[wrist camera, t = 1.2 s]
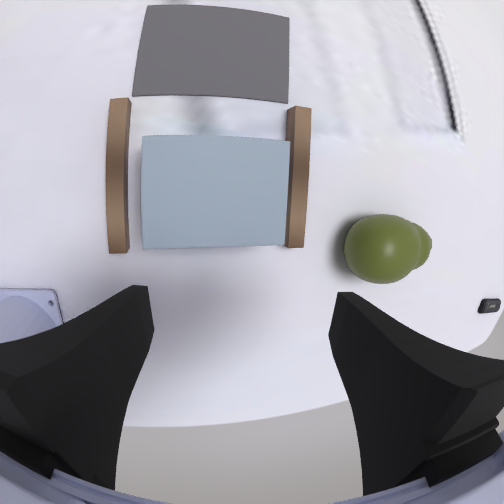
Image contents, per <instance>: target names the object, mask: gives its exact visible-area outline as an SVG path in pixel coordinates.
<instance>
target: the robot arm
mask: <svg viewBox="0 0 504 504" xmlns="http://www.w3.org/2000/svg"><path fill="white" fill-rule="evenodd" d="M50 300H51V301H53V303H54V304H52V303H51V302H50ZM153 333H154V325H153V319H152V313H151V306H150V300H149V293H148V286H139V285H132V286H130V287H128V288H126V289H124V290H122V291H121V292H119V293H117V294H116V295H114V296H112V297H111V298H109V299H107V300H106V301H104V302H102V303H101V304H99V305H97V306H96V307H94V308H92V309H90V310H89V311H87V312H85V313H83V314H81V315H80V316H78V317H76V318H74V319H72V320H70V321H68V322H66V323H64V324H63V322H62V318H61V314H60V309H59V305H58V301H57V296H56V293H55V292H54V291H53V290H50V289H0V504H171V503H165V502H160V501H154V500H150V499H145V498H141V497H136V496H132V495H128V494H125V493H121V492H117V491H115V477H116V464H117V455H118V449H119V442H120V437H121V431H122V426H123V421H124V417H125V413H126V409H127V405H128V402H129V399H130V396H131V393H132V390H133V388H134V385H135V383H136V380H137V378H138V376H139V373H140V371H141V368H142V366H143V364H144V361H145V359H146V356H147V354H148V351H149V348H150V345H151V341H152V337H153ZM328 335H329V340H330V345H331V350H332V354H333V357H334V360H335V363H336V366H337V368H338V371H339V374H340V376H341V379H342V382H343V384H344V387H345V390H346V392H347V395H348V398H349V401H350V404H351V407H352V411H353V416H354V421H355V425H356V431H357V436H358V442H359V448H360V457H361V465H362V479H363V496H362V497H358V498H354V499H349V500H344V501H339V502H334V503H328V504H504V430H503V431H502V432H500V433H499V434H498V433H497V431H496V429H495V428H497V427H498V425H499V422H498V420H497V418H496V416H497V415H498V414H499V412H500V411H501V409H503V407H504V360H499V359H492V358H487V357H482V356H477V355H474V354H470V353H466V352H463V351H460V350H457V349H454V348H451V347H449V346H446V345H443V344H441V343H438V342H436V341H434V340H432V339H430V338H428V337H426V336H423V335H421V334H419V333H417V332H416V331H414V330H412V329H410V328H409V327H407V326H405V325H403V324H402V323H400V322H398V321H397V320H395V319H394V318H392V317H391V316H389V315H388V314H386V313H385V312H383V311H382V310H380V309H379V308H377V307H376V306H374V305H373V304H371V303H370V302H368V301H367V300H365V299H364V298H362V297H360V296H359V295H357V294H355V293H353V292H338V294H337V299H336V303H335V308H334V313H333V317H332V321H331V326H330V330H329V334H328Z"/></svg>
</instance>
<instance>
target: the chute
mask: <svg viewBox="0 0 504 504" xmlns="http://www.w3.org/2000/svg"><path fill="white" fill-rule="evenodd" d="M130 114H131V101H130V100H129V98H116V99H110V106H109V116H108V129H107V146H106V216H107V233H108V246H109V254H113V253H127V251H128V249H129V247H130V244H129V226H128V145H129V128H130ZM310 138H311V108H306V107H300V106H294V107H292V108H290V109H288V110H287V133H286V141H290V158H289V178H288V196H287V213H286V228H285V243H284V246H286V247H287V248H303V247H304V236H305V224H306V210H307V196H308V180H309V161H310Z"/></svg>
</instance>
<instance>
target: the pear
mask: <svg viewBox="0 0 504 504" xmlns="http://www.w3.org/2000/svg"><path fill="white" fill-rule="evenodd" d="M431 248H432V239H431V238H430V236H429V235H428V233H427V232H426V231H425V230H424V229H423V228H422V227H420V226H419V225H417V224H415V223H412V222H410V221H408V220H405V219H403V218H401V217H399V216H395V215H386V214H380V215H371V216H367V217H364V218H362V219H360V220H358V221H357V222H356V223H355V224H354V225H353V226H352V227H351V228H350V230H349V232H348V234H347V236H346V239H345V244H344V254H345V259H346V262H347V264H348V266H349V268H350V269H351V271H352V272H353V273H354V274H355V275H356V276H358V277H359V278H361V279H362V280H365V281H367V282H371V283H377V284H388V283H393V282H396V281H399V280H401V279H403V278H404V277H405V276H407V275H408V274H409V273H410V272H411V271H412V270H414V269H416V268H418V267H420V266H422V265H423V264H424V263H425V262H426V260H427V259H428V257H429V254H430V249H431Z"/></svg>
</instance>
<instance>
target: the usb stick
mask: <svg viewBox="0 0 504 504" xmlns="http://www.w3.org/2000/svg"><path fill="white" fill-rule="evenodd" d="M500 304H501V300H500V299H483V300H482V301H481V303H480V306H479V308H478V312H479V313H481V314H482V313H491V312H497V311H498V310H499V308H500Z"/></svg>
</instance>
